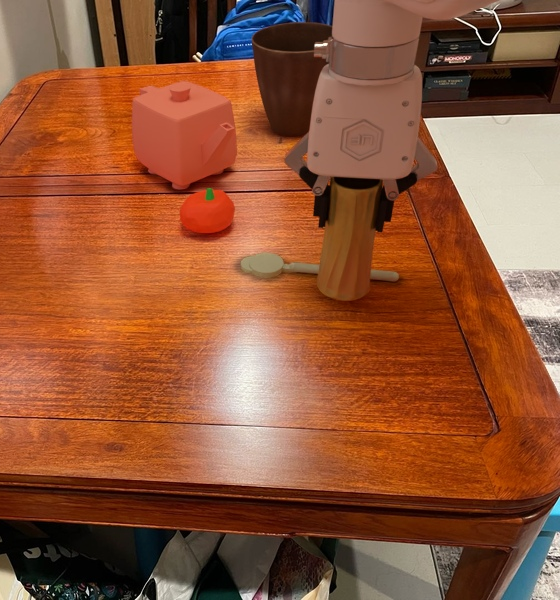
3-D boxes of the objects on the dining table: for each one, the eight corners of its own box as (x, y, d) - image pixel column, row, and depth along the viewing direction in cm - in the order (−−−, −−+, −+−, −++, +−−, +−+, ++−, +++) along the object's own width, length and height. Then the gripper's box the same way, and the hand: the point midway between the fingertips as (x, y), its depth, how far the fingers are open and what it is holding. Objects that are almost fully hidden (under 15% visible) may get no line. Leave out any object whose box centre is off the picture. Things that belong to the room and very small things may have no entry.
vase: (316, 269, 77) (326, 163, 68) (368, 271, 75) (385, 164, 66) (316, 300, 72) (327, 192, 63) (371, 303, 71) (390, 193, 62)
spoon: (398, 270, 78) (399, 262, 77) (398, 292, 74) (399, 284, 74) (243, 255, 83) (243, 248, 82) (237, 275, 79) (237, 268, 79)
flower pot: (353, 128, 109) (365, 33, 99) (292, 155, 103) (298, 57, 93) (292, 105, 119) (297, 16, 109) (233, 129, 113) (232, 38, 103)
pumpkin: (172, 222, 90) (169, 183, 86) (223, 209, 92) (222, 170, 88) (190, 248, 85) (188, 207, 81) (244, 233, 87) (244, 193, 82)
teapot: (261, 182, 97) (263, 94, 88) (197, 211, 92) (192, 120, 83) (178, 138, 112) (173, 58, 103) (119, 161, 107) (108, 80, 98)
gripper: (272, 68, 56) (267, 236, 68) (478, 71, 52) (436, 250, 63) (282, 42, 62) (276, 200, 73) (470, 42, 57) (432, 211, 69)
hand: (350, 222), depth 68 cm, fingers closed on vase, 5 cm apart
